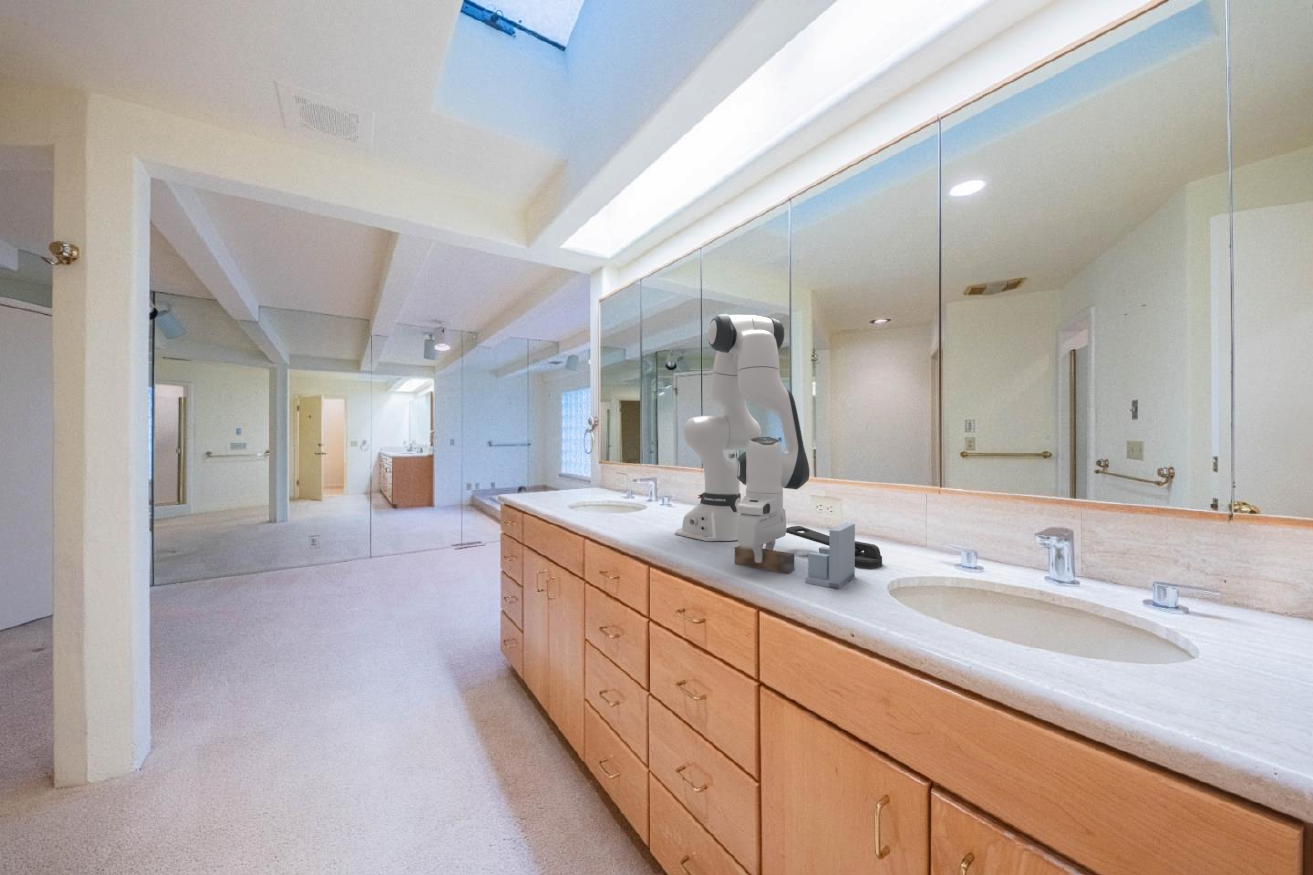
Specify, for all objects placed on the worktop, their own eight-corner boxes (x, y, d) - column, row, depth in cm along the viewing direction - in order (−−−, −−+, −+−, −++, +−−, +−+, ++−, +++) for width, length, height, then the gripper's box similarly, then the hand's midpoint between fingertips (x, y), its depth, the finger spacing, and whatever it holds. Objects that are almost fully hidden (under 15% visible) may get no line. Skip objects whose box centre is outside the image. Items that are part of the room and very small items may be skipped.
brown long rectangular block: (734, 563, 115) (734, 547, 115) (741, 560, 117) (741, 545, 117) (788, 573, 106) (788, 556, 106) (794, 570, 109) (794, 553, 109)
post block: (805, 582, 99) (805, 527, 99) (823, 570, 109) (823, 520, 109) (838, 589, 95) (839, 531, 95) (854, 576, 104) (854, 523, 105)
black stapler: (798, 524, 134) (887, 538, 116) (798, 547, 134) (887, 564, 115) (781, 528, 128) (872, 543, 110) (781, 552, 128) (872, 571, 109)
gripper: (769, 498, 122) (769, 550, 122) (732, 506, 106) (732, 566, 106) (792, 500, 118) (792, 554, 118) (758, 509, 102) (757, 571, 102)
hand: (763, 560), depth 112 cm, fingers closed on brown long rectangular block, 3 cm apart
